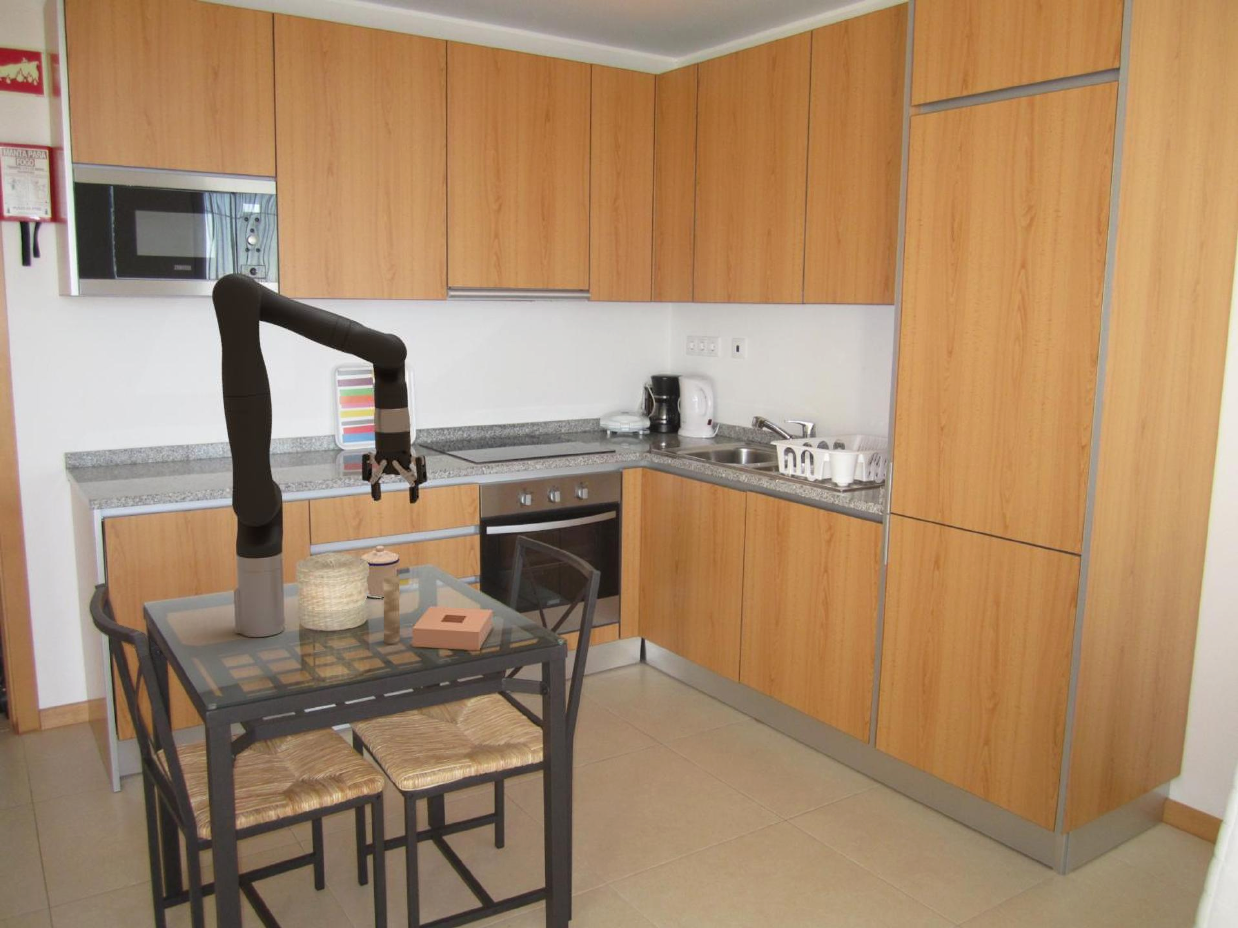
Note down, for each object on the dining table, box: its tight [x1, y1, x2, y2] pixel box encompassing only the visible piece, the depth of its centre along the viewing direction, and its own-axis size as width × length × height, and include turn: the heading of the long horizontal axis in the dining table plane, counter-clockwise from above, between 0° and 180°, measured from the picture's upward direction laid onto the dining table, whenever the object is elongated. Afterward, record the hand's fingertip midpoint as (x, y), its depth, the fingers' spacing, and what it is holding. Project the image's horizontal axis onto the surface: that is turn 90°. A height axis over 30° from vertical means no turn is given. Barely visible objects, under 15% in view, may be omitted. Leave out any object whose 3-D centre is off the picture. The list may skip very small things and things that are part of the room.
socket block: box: [411, 606, 494, 651], centre depth 217 cm, size 14×14×4 cm
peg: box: [383, 575, 401, 645], centre depth 212 cm, size 3×3×14 cm
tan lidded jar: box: [360, 545, 400, 597], centre depth 245 cm, size 12×9×12 cm
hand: (395, 501), depth 221 cm, fingers open, 8 cm apart
